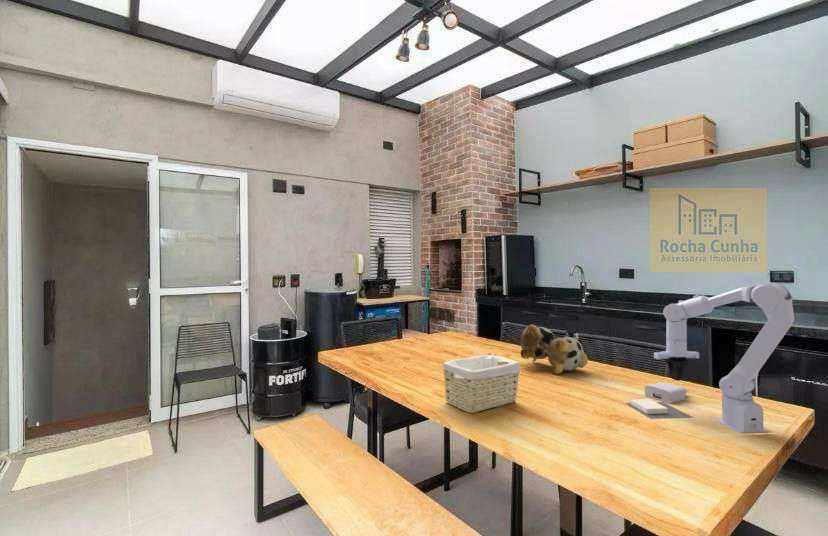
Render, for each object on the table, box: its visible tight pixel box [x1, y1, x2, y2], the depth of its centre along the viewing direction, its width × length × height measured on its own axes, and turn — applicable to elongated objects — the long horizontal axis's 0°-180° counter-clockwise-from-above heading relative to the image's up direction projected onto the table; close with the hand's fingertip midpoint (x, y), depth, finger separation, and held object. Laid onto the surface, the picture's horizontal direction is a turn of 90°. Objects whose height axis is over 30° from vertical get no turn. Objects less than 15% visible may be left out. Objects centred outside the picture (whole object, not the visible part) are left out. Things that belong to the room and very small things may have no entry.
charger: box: [644, 382, 688, 404], centre depth 145 cm, size 5×9×15 cm
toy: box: [519, 324, 589, 375], centre depth 187 cm, size 22×34×20 cm
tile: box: [629, 398, 668, 414], centre depth 133 cm, size 9×2×7 cm
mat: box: [624, 401, 694, 420], centre depth 132 cm, size 14×14×1 cm
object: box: [442, 354, 521, 414], centre depth 141 cm, size 24×16×15 cm
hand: (676, 379), depth 133 cm, fingers closed
